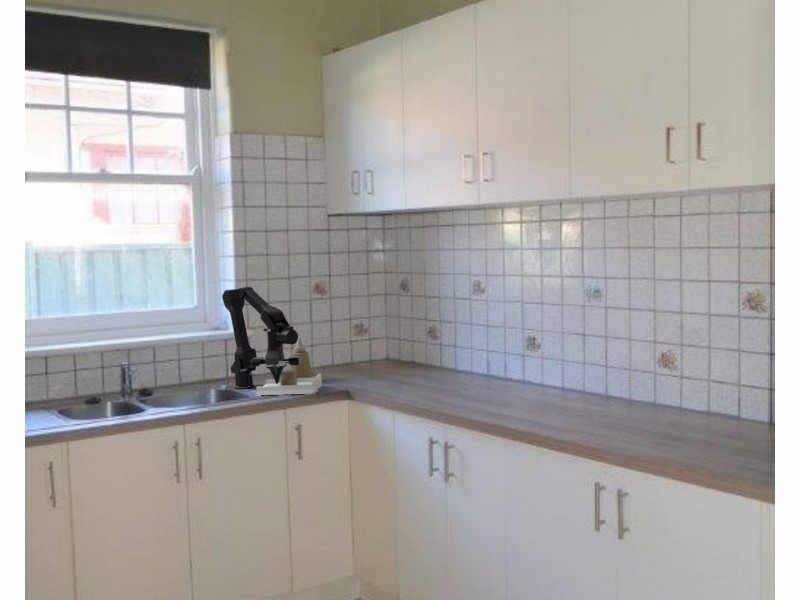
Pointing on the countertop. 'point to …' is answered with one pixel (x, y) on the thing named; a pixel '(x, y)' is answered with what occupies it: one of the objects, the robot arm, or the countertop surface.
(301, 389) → the board
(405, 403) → the countertop surface
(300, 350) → the squeeze bottle
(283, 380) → the block
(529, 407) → the countertop surface
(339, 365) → the countertop surface
